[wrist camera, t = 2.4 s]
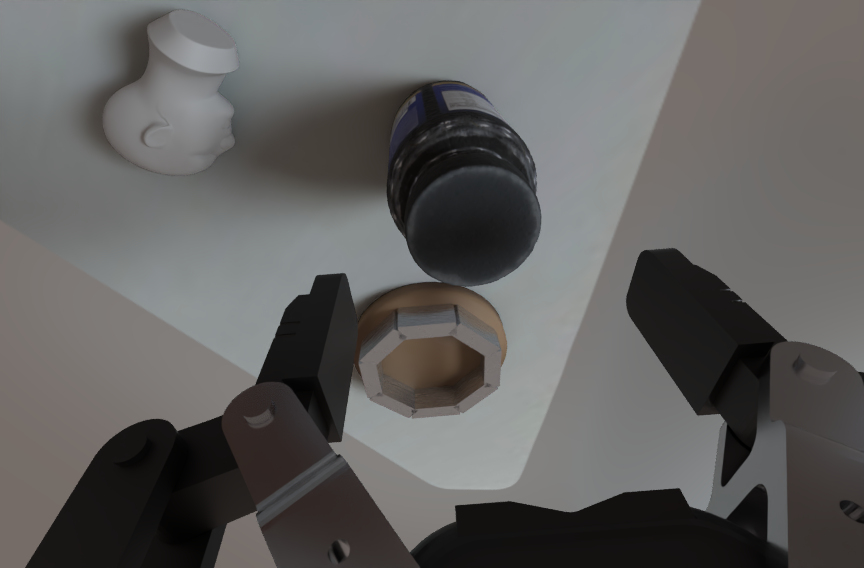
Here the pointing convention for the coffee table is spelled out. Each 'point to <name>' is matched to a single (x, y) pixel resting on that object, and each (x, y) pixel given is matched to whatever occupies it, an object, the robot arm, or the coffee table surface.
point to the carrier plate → (430, 349)
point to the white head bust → (176, 98)
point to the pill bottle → (461, 186)
